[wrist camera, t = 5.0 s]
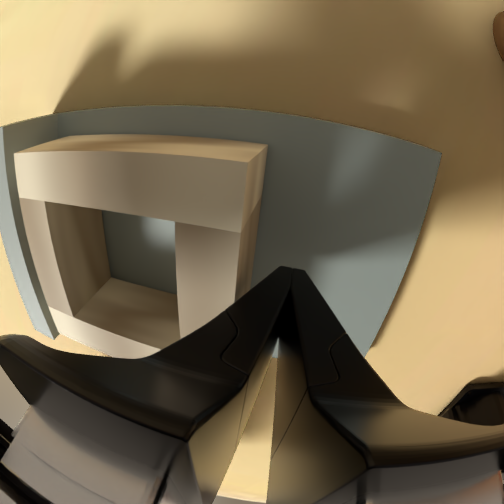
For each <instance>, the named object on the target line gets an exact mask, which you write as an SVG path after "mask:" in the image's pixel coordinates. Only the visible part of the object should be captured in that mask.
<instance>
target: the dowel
mask: <svg viewBox="0 0 504 504" xmlns="http://www.w3.org/2000/svg"><path fill="white" fill-rule="evenodd" d="M493 34H494V39H495V43H496V46H497V49H498V51H499V54H500V56H501V58H502V60H503V61H504V11H503V12H500V13H498V14H497V15H496V17H495V19H494V22H493Z"/></svg>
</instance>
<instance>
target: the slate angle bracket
mask: <svg viewBox="0 0 504 504" xmlns="http://www.w3.org/2000/svg"><path fill="white" fill-rule="evenodd" d="M100 134H147V135H173V136H190V137H204V138H215V139H226V140H235V141H244V142H252V143H260V144H267V145H268V150H267V158H266V166H265V175H264V183H263V191H262V199H261V207H260V215H259V223H258V231H257V239H256V247H255V255H254V262H253V270H252V278H251V286H250V289H252V288H253V287H254V286H255V285H257V284H258V283H259V282H260V281H262V280H263V279H264V278H265V277H267V276H268V275H269V274H270V273H272V272H273V271H274V270H275V269H276V268H278V267H279V266H287V267H291V268H297V269H302V270H305V271H306V273H307V274H308V275H309V277H310V278H311V280H312V281H313V283H314V284H315V286H316V287H317V289H318V290H319V292H320V293H321V295H322V296H323V298H324V299H325V300H326V302H327V303H328V305H329V306H330V308H331V309H332V311H333V312H334V314H335V315H336V317H337V318H338V320H339V321H340V323H341V325H342V326H343V328H344V329H345V331H346V333H347V334H348V335H349V337H350V338H351V340H352V341H353V343H354V344H355V345H356V347H357V348H358V350H359V351H360V353H361V354H362V355H363V357H364V358H365V356H366V354H367V352H368V350H369V348H370V346H371V344H372V343H373V341H374V339H375V337H376V335H377V333H378V331H379V329H380V327H381V325H382V323H383V321H384V318H385V316H386V314H387V312H388V310H389V308H390V306H391V303H392V301H393V299H394V297H395V294H396V292H397V290H398V287H399V285H400V283H401V280H402V278H403V275H404V273H405V271H406V268H407V266H408V263H409V260H410V258H411V255H412V252H413V250H414V247H415V244H416V241H417V239H418V236H419V233H420V230H421V227H422V224H423V221H424V218H425V214H426V211H427V208H428V205H429V201H430V198H431V194H432V191H433V187H434V184H435V180H436V176H437V172H438V168H439V164H440V159H441V155H442V153H441V152H438V151H436V150H433V149H431V148H428V147H425V146H422V145H419V144H416V143H413V142H410V141H406V140H403V139H400V138H396V137H393V136H389V135H386V134H382V133H378V132H375V131H371V130H367V129H363V128H358V127H354V126H350V125H345V124H341V123H336V122H331V121H326V120H321V119H315V118H310V117H304V116H298V115H291V114H284V113H277V112H269V111H261V110H252V109H242V108H230V107H215V106H192V105H144V106H122V107H107V108H96V109H86V110H78V111H70V112H63V113H56V114H50V115H45V116H40V117H36V118H31V119H27V120H23V121H19V122H15V123H11V124H8V125H4V126H1V127H0V232H1V236H2V240H3V244H4V247H5V251H6V254H7V258H8V261H9V264H10V267H11V270H12V273H13V276H14V279H15V282H16V285H17V287H18V290H19V293H20V295H21V298H22V300H23V303H24V305H25V308H26V310H27V313H28V315H29V317H30V319H31V322H32V324H33V326H34V328H35V330H37V331H39V332H41V333H42V334H44V335H46V336H48V337H50V338H52V339H53V340H55V338H56V337H57V336H58V335H59V334H60V333H59V332H58V330H57V327H56V325H55V323H54V320H53V318H52V315H51V312H50V310H49V307H48V305H47V302H46V299H45V296H44V293H43V290H42V287H41V284H40V281H39V278H38V275H37V272H36V269H35V265H34V262H33V258H32V254H31V251H30V247H29V243H28V239H27V235H26V230H25V226H24V221H23V216H22V211H21V205H20V200H19V193H18V187H17V179H16V171H15V162H14V153H16V152H19V151H22V150H25V149H28V148H31V147H34V146H37V145H40V144H43V143H46V142H50V141H53V140H56V139H60V138H63V137H67V136H75V135H100ZM102 219H103V227H104V235H105V242H106V249H107V255H108V261H109V267H110V273H111V277H112V278H115V279H119V280H122V281H126V282H130V283H133V284H137V285H141V286H145V287H148V288H152V289H156V290H160V291H164V292H168V293H172V294H176V295H177V279H176V253H175V222H174V221H168V220H162V219H156V218H150V217H144V216H138V215H132V214H126V213H119V212H113V211H107V210H102ZM278 341H279V338H278ZM278 341H277V344H276V347H275V350H274V352H273V355H272V357H273V358H278Z"/></svg>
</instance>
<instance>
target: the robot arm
mask: <svg viewBox="0 0 504 504" xmlns="http://www.w3.org/2000/svg"><path fill="white" fill-rule="evenodd" d="M278 338H279V341H278ZM277 341H278V360H277V377H276V393H275V408H274V422H273V435H272V447H271V461H270V470H269V481H268V491H267V501H266V504H504V484H503V480H504V383H492V384H472V385H469V386H467V387H465V388H464V389H463V390H462V391H461V393H460V394H459V395H458V396H457V397H456V398H455V399H454V400H453V401H452V402H451V403H450V404H449V406H448V407H447V408H446V409H445V410H444V411H443V412H442V413H441V414H440V415H439V416H435V415H431V414H428V413H424V412H420V411H417V410H414V409H412V408H410V407H408V406H406V405H405V404H403V403H402V402H401V401H400V400H399V399H398V398H397V397H396V396H395V395H394V394H393V392H392V391H391V390H390V389H389V387H388V386H387V385H386V384H385V383H384V381H383V380H382V379H381V378H380V376H379V375H378V374H377V373H376V372H375V370H374V369H373V368H372V367H371V366H370V364H369V363H368V362H367V360H366V359H365V358H364V357H363V355H362V354H361V353H360V351H359V350H358V348H357V347H356V345H355V344H354V343H353V341H352V340H351V338H350V337H349V335H348V334H347V333H346V331H345V329H344V328H343V326H342V325H341V323H340V321H339V320H338V318H337V317H336V315H335V314H334V312H333V311H332V309H331V308H330V306H329V305H328V303H327V302H326V300H325V299H324V298H323V296H322V295H321V293H320V292H319V290H318V289H317V287H316V286H315V284H314V283H313V281H312V280H311V278H310V277H309V275H308V274H307V273H306V271H305V270H302V269H297V268H291V267H287V266H279V267H278V268H276V269H275V270H274V271H273V272H272V273H270V274H269V275H268V276H267V277H265V278H264V279H263V280H262V281H260V282H259V283H258V284H257V285H255V286H254V287H253V288H252V289H250V290H249V291H248V292H247V293H245V294H244V295H243V296H242V297H240V298H239V299H238V300H237V301H235V302H234V303H233V304H232V305H230V306H229V307H228V308H226V309H225V311H222V312H221V313H220V314H219V315H217V316H216V317H215V318H213V319H212V320H211V321H209V322H208V323H206V324H205V325H203V326H202V327H200V328H198V329H197V330H195V331H194V332H192V333H190V334H188V335H187V336H185V337H183V338H181V339H180V340H178V341H176V342H174V343H172V344H171V345H169V346H167V347H165V348H163V349H162V350H160V351H158V352H156V353H154V354H152V355H149V356H147V357H143V358H137V359H128V358H115V357H103V356H93V355H84V354H76V353H69V352H64V351H60V350H56V349H53V348H50V347H47V346H45V345H43V344H41V343H40V342H38V341H36V340H35V339H33V338H31V337H29V336H25V335H16V334H9V335H2V336H0V365H1V367H2V368H3V370H4V371H5V373H6V374H7V375H8V377H9V378H10V380H11V381H12V382H13V384H14V385H15V387H16V388H17V389H18V390H19V392H20V393H21V394H22V395H23V397H24V398H25V399H26V401H27V402H28V403H29V404H30V406H29V408H28V409H27V411H26V412H25V414H24V415H23V417H22V418H21V420H20V421H19V423H18V424H17V426H16V427H15V429H14V430H13V429H11V428H10V427H9V426H8V425H7V424H6V423H5V422H3V421H2V420H1V419H0V504H212V503H213V501H214V499H215V497H216V494H217V492H218V490H219V488H220V486H221V483H222V481H223V479H224V477H225V474H226V472H227V470H228V467H229V465H230V463H231V460H232V458H233V456H234V453H235V451H236V449H237V446H238V444H239V441H240V439H241V436H242V434H243V432H244V429H245V427H246V424H247V422H248V419H249V417H250V414H251V411H252V409H253V406H254V404H255V401H256V399H257V396H258V393H259V391H260V388H261V385H262V383H263V380H264V377H265V375H266V372H267V369H268V366H269V364H270V361H271V358H272V355H273V352H274V350H275V347H276V344H277Z"/></svg>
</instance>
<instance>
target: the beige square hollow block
mask: <svg viewBox="0 0 504 504" xmlns="http://www.w3.org/2000/svg"><path fill="white" fill-rule="evenodd" d="M267 150H268V145H267V144H260V143H252V142H244V141H235V140H226V139H215V138H204V137H190V136H173V135H147V134H100V135H75V136H67V137H63V138H60V139H56V140H53V141H50V142H46V143H43V144H40V145H37V146H34V147H31V148H28V149H25V150H22V151H19V152H16V153H14V162H15V171H16V179H17V187H18V193H19V200H20V205H21V211H22V216H23V221H24V226H25V230H26V235H27V239H28V243H29V247H30V251H31V254H32V258H33V262H34V265H35V269H36V272H37V275H38V278H39V281H40V284H41V287H42V290H43V293H44V296H45V299H46V302H47V305H48V307H49V310H50V312H51V315H52V318H53V320H54V323H55V325H56V327H57V330H58V332H59V333H60V334H62V335H64V336H66V337H68V338H70V339H73V340H75V341H77V342H79V343H81V344H83V345H86V346H88V347H90V348H92V349H95V350H97V351H99V352H102V353H104V354H107V355H109V356H111V357H115V358H128V359H137V358H143V357H147V356H149V355H152V354H154V353H156V352H158V351H160V350H162V349H163V348H165V347H167V346H169V345H171V344H172V343H174V342H176V341H178V340H180V339H181V338H183V337H185V336H187V335H188V334H190V333H192V332H194V331H195V330H197V329H198V328H200V327H202V326H203V325H205V324H206V323H208V322H209V321H211V320H212V319H213V318H215V317H216V316H217V315H219V314H220V313H221V312H222V311H225V309H226V308H228V307H229V306H230V305H232V304H233V303H234V302H235V301H237V300H238V299H239V298H240V297H242V296H243V295H244V294H245V293H247V292H248V291H249V290H250V286H251V278H252V270H253V262H254V255H255V247H256V239H257V231H258V223H259V215H260V207H261V199H262V191H263V183H264V175H265V166H266V158H267ZM102 210H107V211H113V212H119V213H126V214H132V215H138V216H144V217H150V218H156V219H162V220H168V221H174V222H175V253H176V279H177V295H176V294H172V293H168V292H164V291H160V290H156V289H152V288H148V287H145V286H141V285H137V284H133V283H130V282H126V281H122V280H119V279H115V278H112V277H111V273H110V267H109V261H108V255H107V249H106V242H105V235H104V227H103V219H102Z"/></svg>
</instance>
